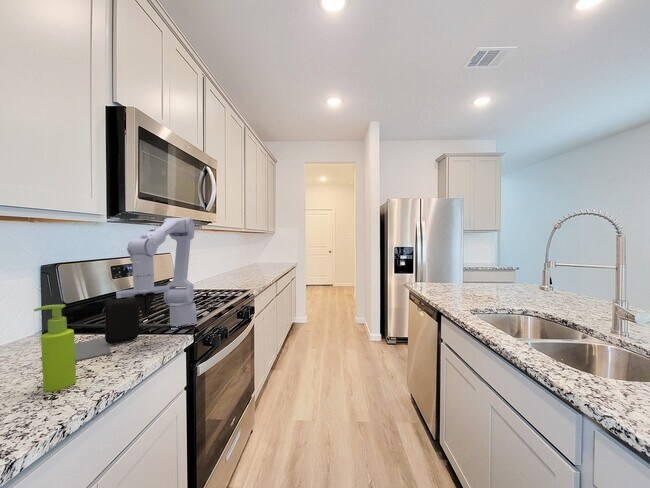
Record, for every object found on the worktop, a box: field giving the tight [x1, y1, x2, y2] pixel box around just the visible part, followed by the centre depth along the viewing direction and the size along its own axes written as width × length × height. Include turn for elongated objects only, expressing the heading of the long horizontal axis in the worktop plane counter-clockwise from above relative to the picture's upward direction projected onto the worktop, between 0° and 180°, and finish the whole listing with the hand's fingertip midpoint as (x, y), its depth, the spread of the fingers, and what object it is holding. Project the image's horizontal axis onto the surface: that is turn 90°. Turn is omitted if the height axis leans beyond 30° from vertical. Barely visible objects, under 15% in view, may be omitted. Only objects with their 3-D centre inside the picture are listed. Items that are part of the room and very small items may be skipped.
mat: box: [74, 337, 112, 363], centre depth 90 cm, size 14×18×1 cm
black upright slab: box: [101, 297, 141, 345], centre depth 97 cm, size 11×3×15 cm, turn 136°
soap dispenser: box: [33, 303, 77, 393], centre depth 69 cm, size 6×7×20 cm
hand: (145, 316), depth 92 cm, fingers closed
